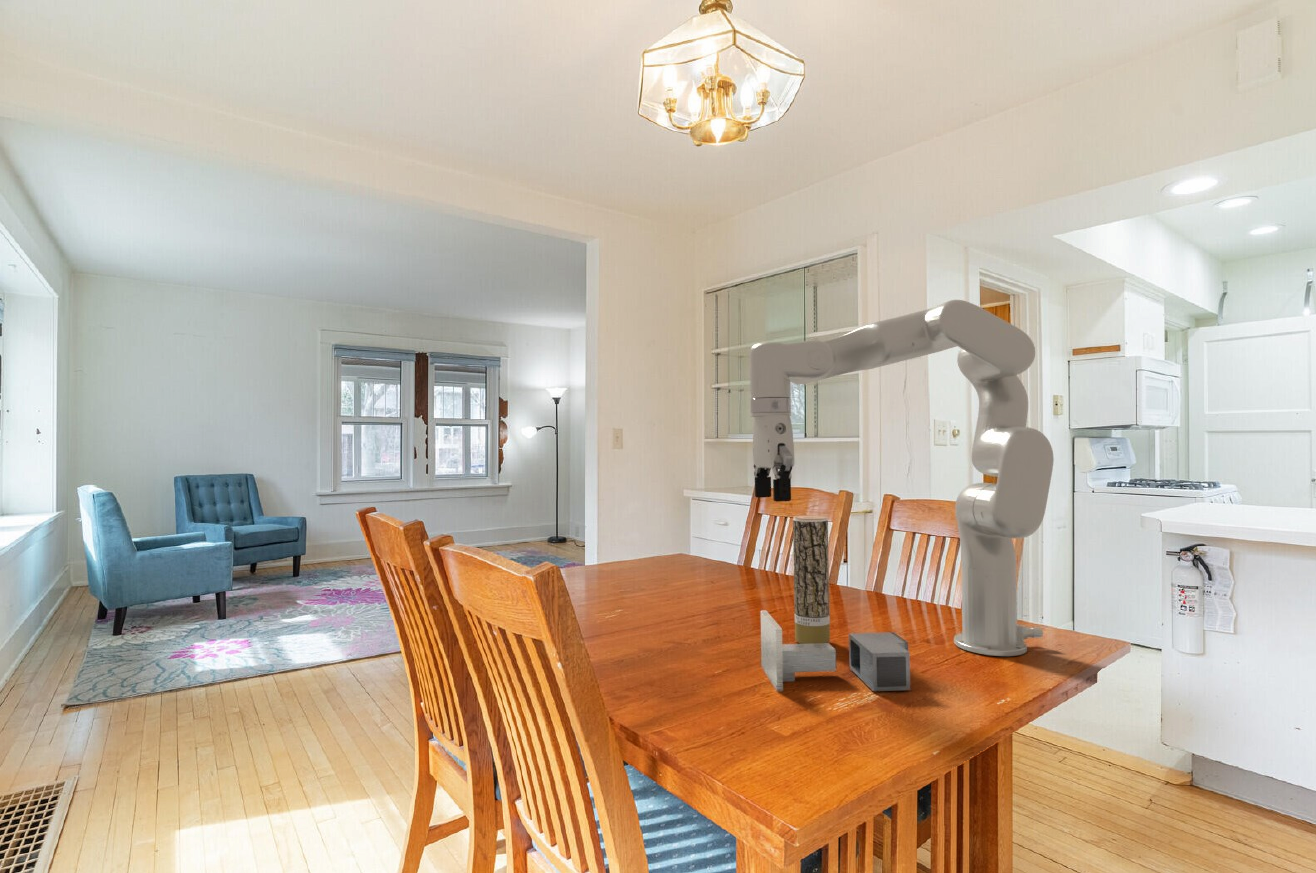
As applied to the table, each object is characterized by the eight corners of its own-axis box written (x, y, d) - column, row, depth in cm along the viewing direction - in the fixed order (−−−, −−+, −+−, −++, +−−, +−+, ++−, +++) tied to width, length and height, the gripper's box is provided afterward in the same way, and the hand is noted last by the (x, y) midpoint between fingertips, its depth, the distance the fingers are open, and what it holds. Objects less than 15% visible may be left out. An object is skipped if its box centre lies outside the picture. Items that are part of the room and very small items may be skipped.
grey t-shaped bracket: (823, 664, 118) (822, 608, 118) (845, 689, 106) (844, 627, 106) (761, 666, 117) (760, 610, 117) (776, 691, 105) (775, 629, 105)
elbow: (894, 666, 115) (893, 632, 115) (923, 690, 104) (922, 652, 104) (849, 667, 115) (848, 633, 115) (873, 691, 104) (872, 653, 104)
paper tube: (831, 648, 127) (828, 519, 127) (795, 646, 128) (793, 519, 129) (829, 638, 133) (826, 515, 134) (795, 636, 135) (792, 515, 135)
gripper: (808, 405, 116) (810, 502, 116) (772, 411, 133) (774, 495, 133) (768, 405, 115) (770, 503, 114) (737, 411, 131) (738, 496, 131)
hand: (772, 499), depth 123 cm, fingers open, 9 cm apart
